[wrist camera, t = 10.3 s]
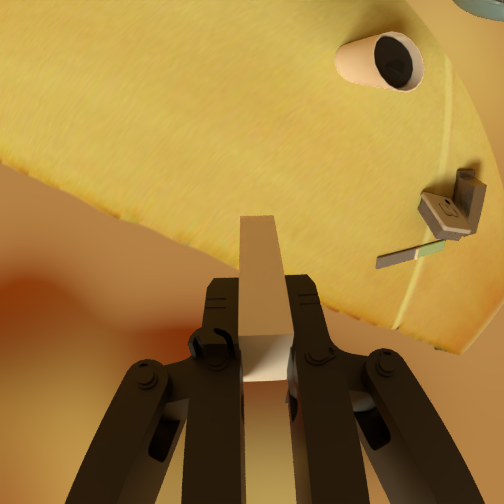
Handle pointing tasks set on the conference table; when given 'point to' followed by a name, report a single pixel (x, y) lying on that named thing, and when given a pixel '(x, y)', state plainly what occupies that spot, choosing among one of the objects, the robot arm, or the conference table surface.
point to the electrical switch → (443, 217)
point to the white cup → (382, 62)
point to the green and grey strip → (409, 254)
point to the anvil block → (469, 197)
